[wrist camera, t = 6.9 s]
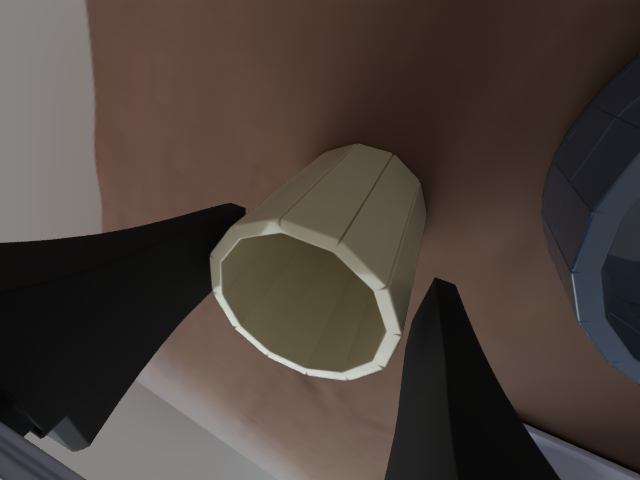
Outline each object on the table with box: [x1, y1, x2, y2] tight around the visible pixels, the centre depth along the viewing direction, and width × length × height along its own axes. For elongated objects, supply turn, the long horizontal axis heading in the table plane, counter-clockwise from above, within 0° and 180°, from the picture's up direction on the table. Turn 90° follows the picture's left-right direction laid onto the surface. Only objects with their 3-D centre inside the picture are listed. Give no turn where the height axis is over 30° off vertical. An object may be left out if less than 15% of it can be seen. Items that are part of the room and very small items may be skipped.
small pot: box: [210, 144, 427, 381], centre depth 11 cm, size 6×6×7 cm
